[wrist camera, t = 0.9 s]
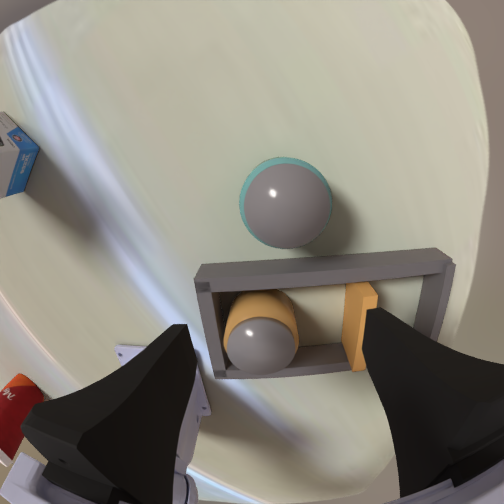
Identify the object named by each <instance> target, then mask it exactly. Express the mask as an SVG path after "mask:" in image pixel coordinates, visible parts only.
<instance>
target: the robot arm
mask: <svg viewBox="0 0 504 504" xmlns="http://www.w3.org/2000/svg"><path fill="white" fill-rule="evenodd" d="M114 349H115V352H116V354H117V357H118V359H119V361H120V363H121V366H122V367H120V368H119V369H117V370H116V371H114V372H113V373H111V374H110V375H108V376H106V377H105V378H103V379H101V380H99V381H97V382H95V383H93V384H91V385H89V386H87V387H85V388H83V389H81V390H79V391H76V392H74V393H71V394H68V395H66V396H63V397H60V398H57V399H53V400H49V401H45V402H41V403H37V404H35V405H34V406H33V407H32V409H31V410H30V412H29V413H28V415H27V416H26V418H25V420H24V421H23V422H22V424H21V426H20V427H21V430H22V433H23V434H24V436H25V437H26V438H27V439H28V441H29V442H30V443H31V444H32V445H33V446H34V447H35V448H36V449H37V450H38V451H39V452H40V453H41V454H42V455H43V456H44V457H45V458H46V459H47V460H48V463H47V465H46V466H45V465H44V464H42V463H41V462H39V461H37V460H36V459H34V458H32V457H30V456H29V455H27V454H25V453H23V452H21V453H20V455H19V456H18V458H17V460H16V462H15V463H14V465H13V467H12V469H11V471H10V472H9V474H8V476H7V478H6V480H5V482H4V484H3V486H2V487H1V489H0V495H1V496H3V497H4V498H5V499H6V500H8V501H9V502H10V503H11V504H198V490H197V487H196V484H195V481H194V479H193V478H192V477H191V476H190V475H188V474H186V469H187V466H188V465H189V463H190V462H191V460H192V458H193V454H194V450H195V445H196V440H197V435H198V431H199V426H200V422H201V417H202V416H210V415H211V409H210V405H209V402H208V399H207V396H206V392H205V389H204V386H203V382H202V379H201V375H200V372H199V368H198V364H197V358H196V355H195V351H194V348H193V344H192V341H191V337H190V333H189V330H188V326H187V324H173V325H172V326H170V327H169V328H168V329H167V330H166V331H164V332H163V333H162V334H161V335H160V336H159V337H158V338H156V339H155V340H154V341H153V342H152V343H151V344H149V345H148V346H131V345H116V346H115V348H114ZM362 352H363V356H364V360H365V363H366V366H367V369H368V372H369V374H370V377H371V379H372V381H373V384H374V386H375V388H376V391H377V393H378V395H379V398H380V400H381V402H382V405H383V407H384V410H385V413H386V415H387V419H388V422H389V426H390V430H391V434H392V439H393V444H394V449H395V454H396V460H397V467H398V474H399V486H400V499H397V500H394V501H391V502H387V503H384V504H504V364H499V363H494V362H489V361H485V360H481V359H477V358H475V357H471V356H468V355H465V354H463V353H460V352H457V351H455V350H453V349H451V348H448V347H446V346H444V345H442V344H440V343H438V342H436V341H434V340H432V339H430V338H429V337H427V336H425V335H423V334H422V333H420V332H418V331H417V330H415V329H414V328H412V327H410V326H409V325H407V324H406V323H404V322H403V321H401V320H400V319H398V318H397V317H395V316H394V315H392V314H391V313H389V312H387V311H386V310H384V309H382V308H381V307H379V308H373V309H367V311H366V319H365V328H364V335H363V343H362Z"/></svg>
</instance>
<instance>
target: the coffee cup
mask: <svg viewBox="0 0 504 504" xmlns="http://www.w3.org/2000/svg"><path fill="white" fill-rule="evenodd" d="M43 401H44V396H43V394H42V392H41V391H40V389H39V388H38V387H37V386H36V385H35V384H34V383H33V382H32V381H31V380H30V379H29V378H28V377H26V376H25V375H23V374H18V375H16V376H15V377H14V378H13V379H12V380H11V381H10V382H9V383H8V384H7V385H6V386H5V387H4V388H3V389H2V390H1V392H0V463H2V464H3V465H4V466H6V467H8V466H9V465H10V464H13V461H12V460H13V458H14V456H15V454H16V452H17V450H18V448H19V446H20V444H21V442H22V440H23V438H24V434H23V433H22V430H21V427H20V426H21V424H22V422H23V421H24V420H25V418H26V416H27V415H28V413H29V412H30V410H31V409H32V407H33V406H34V405H35V404H37V403H41V402H43Z"/></svg>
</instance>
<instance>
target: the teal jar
mask: <svg viewBox="0 0 504 504" xmlns="http://www.w3.org/2000/svg"><path fill="white" fill-rule="evenodd" d="M239 207H240V214H241V217H242V220H243V222H244V224H245V226H246V228H247V229H248V231H249V232H250V233H251V234H252V235H253V236H254V237H255V238H256V239H257V240H259V241H260V242H262V243H264V244H266V245H268V246H271V247H274V248H280V249H292V248H297V247H301V246H303V245H306V244H308V243H309V242H311V241H312V240H314V239H315V238H316V237H317V236H318V235H320V233H321V232H322V231H323V230H324V228H325V227H326V225H327V223H328V221H329V218H330V215H331V210H332V196H331V191H330V188H329V186H328V183H327V182H326V180H325V178H324V177H323V175H322V174H321V173H320V172H319V171H318V170H317V169H316V168H315V167H313V166H312V165H310V164H308V163H307V162H304V161H302V160H299V159H295V158H287V157H276V158H271V159H268V160H266V161H264V162H262V163H260V164H259V165H258V166H257V167H256V168H255V169H254V170H253V171H252V172H251V173H250V175H249V176H248V178H247V179H246V181H245V183H244V185H243V187H242V190H241V194H240V200H239Z"/></svg>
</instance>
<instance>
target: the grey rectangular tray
mask: <svg viewBox="0 0 504 504" xmlns="http://www.w3.org/2000/svg"><path fill="white" fill-rule="evenodd" d="M455 267H456V264H454V263H453V262H452V258H450V257H449V256H447V255H446V254H445V253H443V252H442V251H440V250H439V249H437V248H425V249H413V250H400V251H387V252H374V253H361V254H347V255H333V256H319V257H305V258H290V259H275V260H260V261H245V262H229V263H213V264H201V266H200V268H199V270H198V272H197V274H196V276H195V278H194V283H195V288H196V293H197V299H198V304H199V309H200V314H201V319H202V323H203V328H204V333H205V338H206V342H207V347H208V351H209V355H210V360H211V364H212V368H213V372H214V376H215V379H258V378H279V377H293V376H305V375H315V374H325V373H333V372H341V371H348V370H352V369H351V366H350V363H349V361H348V358H347V355H346V352H345V349H344V346H343V344H342V343H335V344H326V345H317V346H306V347H298V349H297V351H296V353H295V355H294V358H293V360H292V361H291V363H290V364H289V365H288V366H287V367H285V368H284V369H282V370H280V371H278V372H276V373H273V374H268V375H255V374H250V373H246V372H244V371H242V370H240V369H238V368H237V367H236V366H235V365H234V364H233V363H232V362H231V361H230V359H229V357H228V354H227V352H226V350H225V347H224V334H225V324H224V318H223V312H222V306H221V299H220V293H219V292H227V291H246V290H263V289H279V288H293V287H307V286H320V285H331V284H343V283H354V282H364V281H374V280H384V279H393V278H402V277H410V276H419V275H424V279H423V285H422V290H421V295H420V300H419V305H418V310H417V314H416V319H415V323H414V327H413V328H414V329H415V330H417V331H418V332H420V333H422V334H423V335H425V336H427V337H429V338H430V339H432V340H434V341H436V342H437V339H438V336H439V333H440V329H441V326H442V323H443V319H444V315H445V312H446V308H447V304H448V300H449V296H450V291H451V287H452V282H453V277H454V272H455ZM366 368H367V366H366Z"/></svg>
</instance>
